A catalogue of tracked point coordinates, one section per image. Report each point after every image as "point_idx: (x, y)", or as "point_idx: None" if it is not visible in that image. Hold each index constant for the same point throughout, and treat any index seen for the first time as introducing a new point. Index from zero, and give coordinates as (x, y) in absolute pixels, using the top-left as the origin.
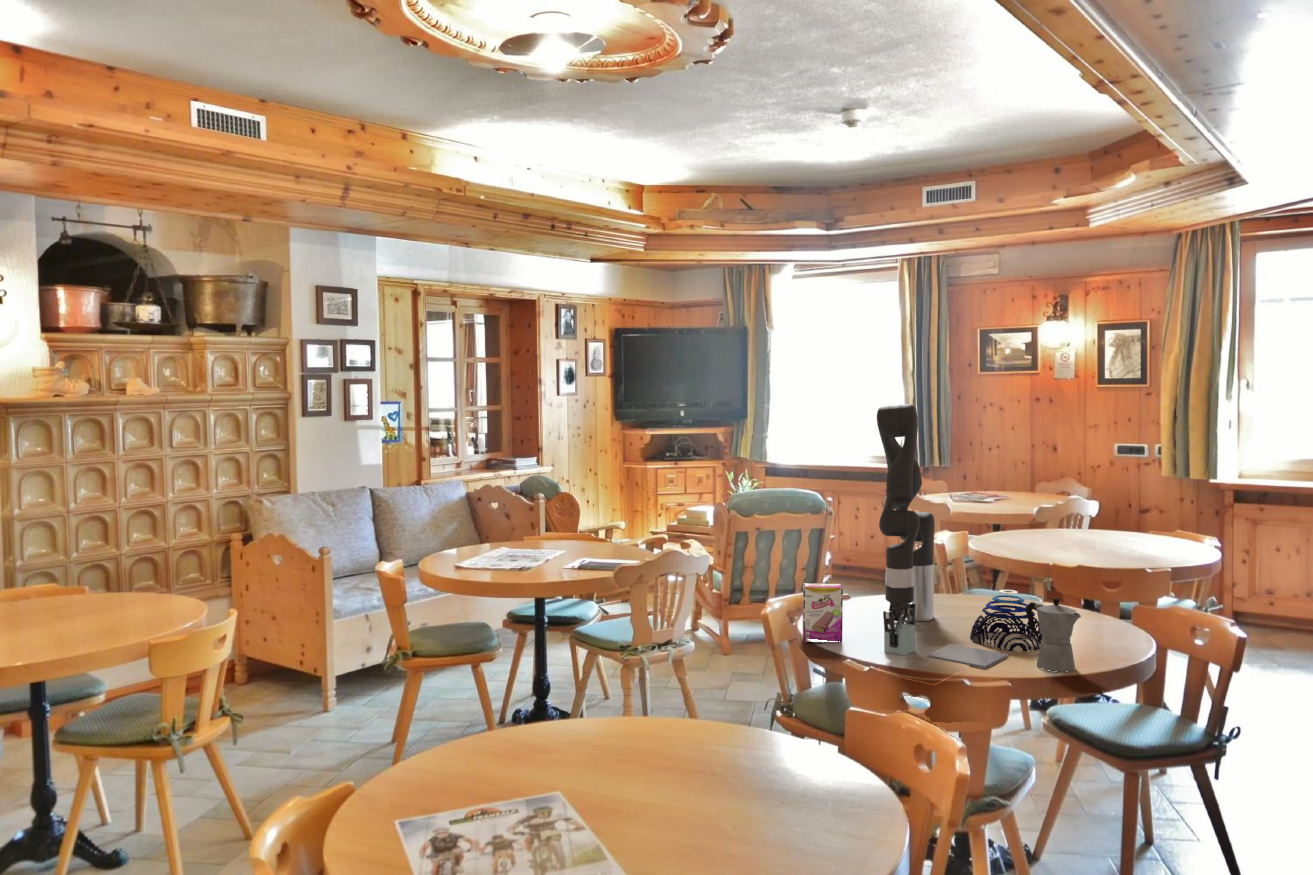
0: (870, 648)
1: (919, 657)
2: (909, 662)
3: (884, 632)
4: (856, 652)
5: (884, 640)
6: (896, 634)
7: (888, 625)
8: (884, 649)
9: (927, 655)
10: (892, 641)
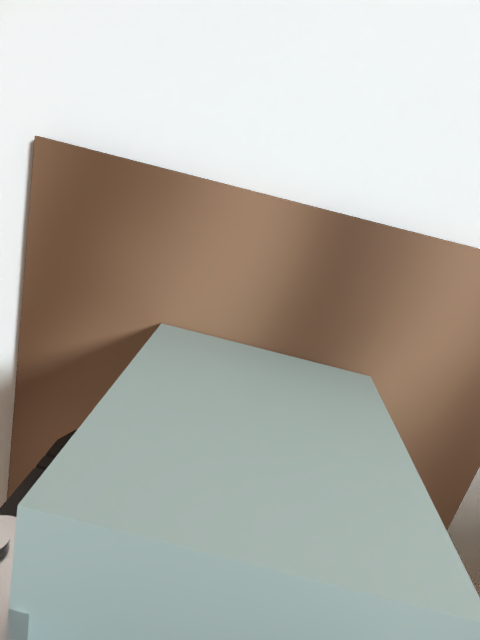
0: (255, 146)
1: None
2: None
3: (78, 429)
4: (29, 46)
5: (123, 371)
6: None
7: (110, 563)
8: (156, 330)
9: None
10: None
